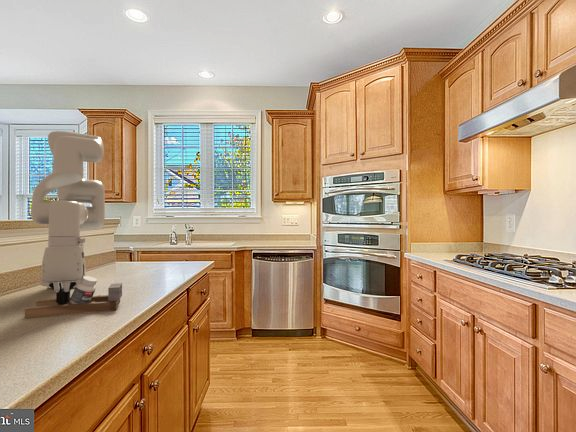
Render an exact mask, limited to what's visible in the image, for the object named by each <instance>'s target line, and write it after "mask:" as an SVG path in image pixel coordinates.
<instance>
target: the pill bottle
mask: <svg viewBox="0 0 576 432" xmlns="http://www.w3.org/2000/svg"><path fill="white" fill-rule="evenodd" d="M81 282H82V283H81V284H78V285H76V287H75V288H73V289H74V290H73V291H72V294H71V295H70V300H69V303H68V304H78V303H90V301H91V299H92V297H93V296H94V294H95V292H96V286H95V285H96V284H97V283H98V279H97V278H96V277H94V276H89V275H85V276H84V277H83V278H82V280H81Z"/></svg>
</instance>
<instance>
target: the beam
mask: <svg viewBox="0 0 576 432" xmlns="http://www.w3.org/2000/svg"><path fill="white" fill-rule="evenodd" d="M107 289H108V290H107V293H108V294H106V295H104V294H103V295H102V294H98V295H93V297H92V299H91V301H90V303H78V304H64V305H58V303H56V298H46V299H45V298H42V299H38V300H36V301H35V302H36V304H35V305H36V306H28V307H25V308H24V319H28V318H29V319H30V318H39V317H53V316H63V315H64V316H65V315H75V314H87V313H89V314H90V313H99V312H100V313H101V312H114V311H117V309H118V307H119V304H120V303H121V298H122V296H123V283H122V282H120V283H119V282H118V283H117V282H115V283H110V285H109V286H108V288H107ZM68 303H69V302H68Z"/></svg>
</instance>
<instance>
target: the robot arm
mask: <svg viewBox="0 0 576 432" xmlns="http://www.w3.org/2000/svg"><path fill="white" fill-rule="evenodd" d="M47 143H48V147H49V151H50V152H51V155H52V156H53V157H52V158H53V159H52V160H53V161H52V171H51V173H50V174H48V175H47V176H45V177H44V178H43V179H41V181H39V182H38V183H37V184H36V186H35V188H34V189H33V192H32V197H31V208H30V217H31V221H33V222H34V224H35V225H36V224H37V225H40V226H48V235H47V236H48V237H47V238H48V239H47V241H48V243H47V247H45V248H44V252H43V256H42V262H41V268H40V270H41V271H40V278H41V282H40V286H42V287H47V288H49V289H51V290H53V292H55V293H56V295H55V299H56V303H58V305H64V304H68V302H69V300H70V298H71V291H72V289H75V287H76V285H78V284H81V283H82V282H81V280H82V278H83V277H84V276H86V260H85V259H86V258H85V257H86V256H85V251H84V246H85V244H84V243H86V238H83V237H82V236H81V235H80V234H81V232H80V231H87V230H88V231H91V230H92V231H94V230H101V229H102V228H103V227H104V225H105V222H106V221H105V217H106V214H105V213H106V212H105V211H106V209H105V208H106V207H105V205H106V193H105V186H104V183H102V181H100V180H97V179H85V178H84V163H85V162H86V163H94V164H98V163H101V162H102V161H103V158H104V156H105V147H104V142H103V139H102V138H101V137H100V136H98V135H92V134H84V133H79V132H73V131H62V130H58V131H57V130H55V131H51V132H49V134H48V135H47ZM55 190H56V192H57V193H56V195H57V198H58V200H57V199H56V200H45V197H46V196H47V195H48V194H50V193H51V192H54V191H55ZM85 204H90V205H92V206H86V205H85Z"/></svg>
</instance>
